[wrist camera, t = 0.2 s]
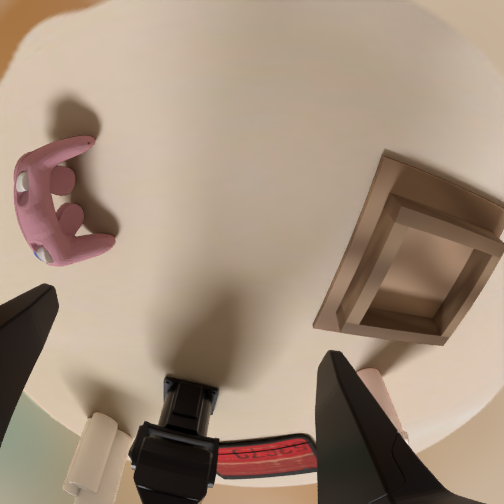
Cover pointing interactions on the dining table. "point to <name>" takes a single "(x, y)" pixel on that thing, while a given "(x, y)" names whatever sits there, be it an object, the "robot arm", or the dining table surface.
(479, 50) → the dining table surface
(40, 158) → the video game controller
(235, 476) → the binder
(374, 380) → the smoothie
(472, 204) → the brown shallow square tray
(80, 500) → the vase
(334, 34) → the dining table surface
